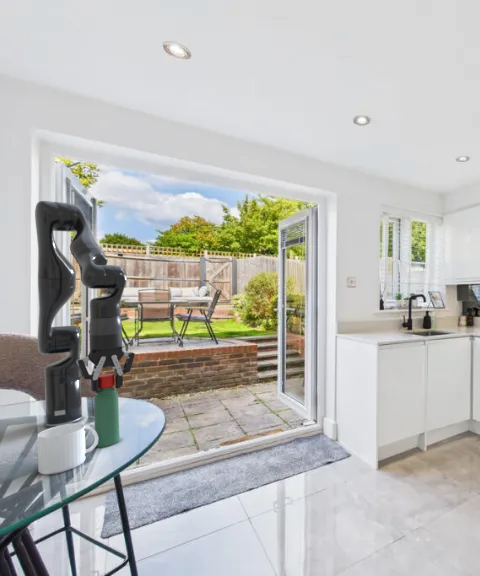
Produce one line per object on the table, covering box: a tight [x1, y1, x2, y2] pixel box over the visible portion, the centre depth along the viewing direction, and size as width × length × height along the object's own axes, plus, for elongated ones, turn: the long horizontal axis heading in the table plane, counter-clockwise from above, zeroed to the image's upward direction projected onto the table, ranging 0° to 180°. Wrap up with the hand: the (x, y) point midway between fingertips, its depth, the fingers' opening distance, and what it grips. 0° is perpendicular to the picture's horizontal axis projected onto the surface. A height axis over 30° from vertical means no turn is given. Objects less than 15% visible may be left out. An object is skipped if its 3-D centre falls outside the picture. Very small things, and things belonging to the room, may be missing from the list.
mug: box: [37, 422, 99, 475], centre depth 92 cm, size 12×9×9 cm
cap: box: [98, 373, 116, 388], centre depth 104 cm, size 4×4×3 cm
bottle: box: [93, 386, 120, 448], centre depth 104 cm, size 6×6×20 cm
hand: (107, 389), depth 103 cm, fingers open, 4 cm apart
